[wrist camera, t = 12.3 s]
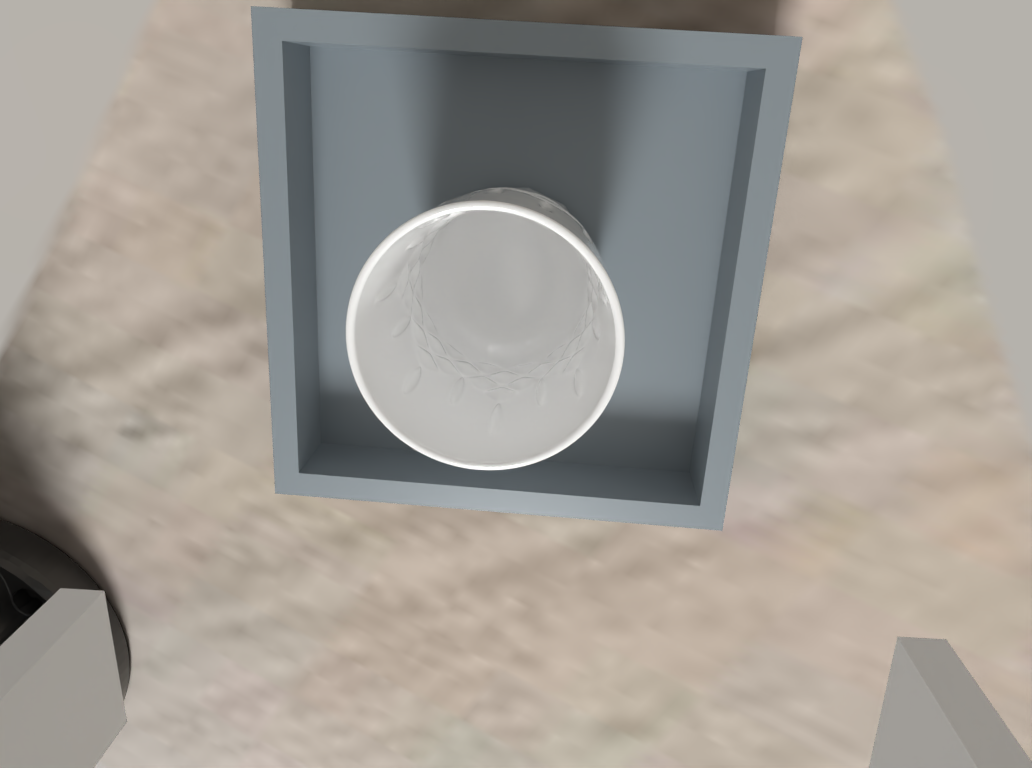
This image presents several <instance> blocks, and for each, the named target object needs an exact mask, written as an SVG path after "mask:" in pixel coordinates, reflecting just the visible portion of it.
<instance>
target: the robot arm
mask: <svg viewBox="0 0 1032 768" xmlns="http://www.w3.org/2000/svg"><path fill="white" fill-rule="evenodd" d="M128 683H129V654H128V648H127V644H126V640H125V636H124V633H123V630H122V627H121V625H120V623H119V620H118V618H117V616H116V614H115V612H114V610H113V608H112V607H111V605H110V603H109V602H108V600H107V599H106V597H105V592H104V591H101V590H100V589H99V588H98V586H97V585H96V584H95V583H94V581H93V580H92V579H91V578H90V577H89V576H88V575H87V574H86V573H85V572H84V571H83V570H82V569H81V568H80V567H79V566H78V565H77V564H76V563H75V562H74V561H73V560H72V559H70V558H69V557H68V556H67V555H65V554H64V553H63V552H62V551H60V550H59V549H58V548H56V547H55V546H53V545H52V544H50V543H49V542H47V541H45V540H44V539H42V538H40V537H39V536H37V535H35V534H33V533H31V532H29V531H27V530H25V529H23V528H21V527H19V526H16V525H14V524H11V523H9V522H6V521H3V520H0V768H94V767H95V766H96V764H97V763H98V761H99V760H100V759H101V757H102V756H103V754H104V753H105V752H106V750H107V749H108V747H109V746H110V744H111V743H112V742H113V740H114V739H115V737H116V736H117V735H118V733H119V732H120V730H121V729H122V728H123V726H124V725H125V723H126V722H127V719H126V713H125V707H124V702H123V701H124V699H125V695H126V692H127V688H128ZM869 768H1032V761H1031V760H1030V758H1029V757H1028V756H1027V754H1026V753H1025V751H1024V750H1023V748H1022V747H1021V746H1020V744H1019V743H1018V741H1017V740H1016V738H1015V737H1014V736H1013V734H1012V733H1011V731H1010V730H1009V728H1008V727H1007V726H1006V724H1005V723H1004V721H1003V720H1002V718H1001V717H1000V716H999V714H998V713H997V711H996V710H995V708H994V707H993V706H992V704H991V703H990V701H989V700H988V698H987V697H986V696H985V694H984V693H983V691H982V690H981V688H980V687H979V686H978V684H977V683H976V681H975V680H974V678H973V677H972V676H971V674H970V673H969V671H968V670H967V668H966V667H965V666H964V664H963V663H962V661H961V660H960V658H959V657H958V655H957V654H956V653H955V651H954V650H953V648H952V647H951V645H950V644H949V643H948V641H947V640H946V639H928V638H911V637H897V641H896V646H895V651H894V655H893V660H892V664H891V669H890V673H889V678H888V683H887V687H886V692H885V696H884V701H883V705H882V710H881V715H880V719H879V724H878V728H877V733H876V737H875V742H874V747H873V751H872V756H871V760H870V765H869Z"/></svg>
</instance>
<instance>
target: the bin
mask: <svg viewBox="0 0 1032 768" xmlns="http://www.w3.org/2000/svg"><path fill="white" fill-rule="evenodd" d="M251 18H252V38H253V58H254V78H255V98H256V118H257V137H258V157H259V177H260V197H261V217H262V237H263V257H264V277H265V297H266V317H267V337H268V357H269V377H270V397H271V417H272V437H273V457H274V477H275V493H277V494H289V495H301V496H313V497H325V498H337V499H349V500H361V501H373V502H385V503H397V504H409V505H421V506H433V507H445V508H457V509H469V510H481V511H493V512H505V513H517V514H529V515H541V516H553V517H565V518H577V519H589V520H601V521H613V522H625V523H637V524H649V525H661V526H673V527H685V528H697V529H709V530H721V531H722V529H723V523H724V517H725V511H726V504H727V498H728V492H729V486H730V480H731V474H732V468H733V461H734V455H735V449H736V443H737V437H738V431H739V424H740V418H741V412H742V406H743V400H744V394H745V388H746V381H747V375H748V369H749V363H750V357H751V351H752V345H753V338H754V332H755V326H756V320H757V314H758V308H759V302H760V295H761V289H762V283H763V277H764V271H765V265H766V259H767V252H768V246H769V240H770V234H771V228H772V222H773V216H774V209H775V203H776V197H777V191H778V185H779V179H780V173H781V166H782V160H783V154H784V148H785V142H786V136H787V129H788V123H789V117H790V111H791V105H792V99H793V93H794V86H795V80H796V74H797V68H798V62H799V56H800V50H801V43H802V37H795V36H777V35H759V34H741V33H723V32H705V31H687V30H669V29H651V28H633V27H615V26H597V25H579V24H561V23H543V22H525V21H507V20H489V19H471V18H453V17H436V16H418V15H400V14H382V13H364V12H346V11H328V10H310V9H292V8H274V7H256V6H251ZM490 187H529V188H531V189H533V190H535V191H537V192H539V193H541V194H543V195H545V196H547V197H549V198H551V199H553V200H555V201H557V202H559V203H561V204H563V205H565V206H566V208H567V209H568V210H569V212H570V213H571V214H572V215H573V216H574V217H575V218H576V219H577V220H578V221H579V222H580V224H581V225H582V226H583V227H584V229H585V230H586V231H587V233H588V235H589V236H590V238H591V239H592V241H593V243H594V244H595V246H596V248H597V250H598V252H599V254H600V256H601V258H602V260H603V263H604V265H605V267H606V270H607V272H608V275H609V277H610V279H611V282H612V284H613V286H614V288H615V291H616V294H617V296H618V299H619V303H620V306H621V310H622V315H623V321H624V331H625V349H624V358H623V364H622V369H621V373H620V376H619V380H618V383H617V385H616V388H615V390H614V393H613V395H612V397H611V399H610V401H609V403H608V404H607V406H606V408H605V409H604V411H603V412H602V414H601V415H600V416H599V418H598V419H597V420H596V421H595V423H594V424H593V425H592V426H591V427H590V428H589V429H588V430H587V431H586V432H585V433H584V434H583V435H582V436H581V437H580V438H579V439H577V440H576V441H575V442H574V443H572V444H571V445H570V446H568V447H567V448H565V449H563V450H562V451H560V452H558V453H557V454H555V455H553V456H551V457H549V458H546V459H544V460H542V461H539V462H536V463H533V464H530V465H526V466H522V467H518V468H512V469H505V470H475V469H467V468H462V467H457V466H453V465H449V464H446V463H443V462H440V461H437V460H435V459H432V458H430V457H428V456H426V455H424V454H422V453H420V452H418V451H416V450H415V449H413V448H412V447H410V446H408V445H407V444H406V443H404V442H403V441H401V440H400V439H399V438H398V437H396V436H395V435H394V434H393V433H392V432H391V431H390V430H389V429H388V428H387V427H386V426H385V425H384V424H383V423H382V422H381V421H380V420H379V419H378V418H377V416H376V415H375V414H374V413H373V411H372V410H371V408H370V407H369V405H368V404H367V402H366V401H365V399H364V397H363V396H362V394H361V392H360V390H359V388H358V386H357V383H356V381H355V378H354V376H353V373H352V370H351V366H350V362H349V358H348V352H347V345H346V317H347V310H348V305H349V300H350V296H351V293H352V290H353V287H354V284H355V282H356V279H357V277H358V275H359V273H360V271H361V269H362V267H363V266H364V264H365V262H366V261H367V259H368V258H369V256H370V255H371V254H372V252H373V251H374V250H375V249H376V248H377V246H378V245H379V244H380V243H381V242H382V241H383V240H384V239H385V238H386V237H387V236H388V235H389V234H390V233H392V232H393V231H394V230H395V229H397V228H398V227H399V226H401V225H402V224H404V223H405V222H407V221H408V220H410V219H412V218H414V217H415V216H417V215H419V214H421V213H424V212H426V211H428V210H430V209H432V208H435V207H437V206H438V205H440V204H442V203H444V202H446V201H448V200H451V199H453V198H456V197H459V196H462V195H465V194H468V193H471V192H474V191H478V190H483V189H487V188H490Z"/></svg>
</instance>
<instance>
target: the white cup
mask: <svg viewBox="0 0 1032 768" xmlns="http://www.w3.org/2000/svg"><path fill="white" fill-rule="evenodd" d="M346 345H347V352H348V358H349V362H350V366H351V370H352V373H353V376H354V378H355V381H356V383H357V386H358V388H359V390H360V392H361V394H362V396H363V397H364V399H365V401H366V402H367V404H368V405H369V407H370V408H371V410H372V411H373V413H374V414H375V415H376V416H377V418H378V419H379V420H380V421H381V422H382V423H383V424H384V425H385V426H386V427H387V428H388V429H389V430H390V431H391V432H392V433H393V434H394V435H395V436H396V437H398V438H399V439H400V440H401V441H403V442H404V443H406V444H407V445H408V446H410V447H412V448H413V449H415V450H416V451H418V452H420V453H422V454H424V455H426V456H428V457H430V458H432V459H435V460H437V461H440V462H443V463H446V464H449V465H453V466H457V467H462V468H467V469H475V470H505V469H512V468H518V467H522V466H526V465H530V464H533V463H536V462H539V461H542V460H544V459H546V458H549V457H551V456H553V455H555V454H557V453H558V452H560V451H562V450H563V449H565V448H567V447H568V446H570V445H571V444H572V443H574V442H575V441H576V440H577V439H579V438H580V437H581V436H582V435H583V434H584V433H585V432H586V431H587V430H588V429H589V428H590V427H591V426H592V425H593V424H594V423H595V421H596V420H597V419H598V418H599V416H600V415H601V414H602V412H603V411H604V409H605V408H606V406H607V404H608V403H609V401H610V399H611V397H612V395H613V393H614V390H615V388H616V385H617V383H618V380H619V376H620V373H621V369H622V364H623V358H624V349H625V331H624V321H623V315H622V310H621V306H620V303H619V299H618V296H617V294H616V291H615V288H614V286H613V284H612V282H611V279H610V277H609V275H608V272H607V270H606V267H605V265H604V263H603V260H602V258H601V256H600V254H599V252H598V250H597V248H596V246H595V244H594V243H593V241H592V239H591V238H590V236H589V235H588V233H587V231H586V230H585V229H584V227H583V226H582V225H581V224H580V222H579V221H578V220H577V219H576V218H575V217H574V216H573V215H572V214H571V213H570V212H569V210H568V209H567V208H566V206H565V205H563V204H561V203H559V202H557V201H555V200H553V199H551V198H549V197H547V196H545V195H543V194H541V193H539V192H537V191H535V190H533V189H531V188H529V187H490V188H487V189H483V190H478V191H474V192H471V193H468V194H465V195H462V196H459V197H456V198H453V199H451V200H448V201H446V202H444V203H442V204H440V205H438V206H437V207H435V208H432V209H430V210H428V211H426V212H424V213H421V214H419V215H417V216H415V217H414V218H412V219H410V220H408V221H407V222H405V223H404V224H402V225H401V226H399V227H398V228H397V229H395V230H394V231H393V232H392V233H390V234H389V235H388V236H387V237H386V238H385V239H384V240H383V241H382V242H381V243H380V244H379V245H378V246H377V248H376V249H375V250H374V251H373V252H372V254H371V255H370V256H369V258H368V259H367V261H366V262H365V264H364V266H363V267H362V269H361V271H360V273H359V275H358V277H357V279H356V282H355V284H354V287H353V290H352V293H351V296H350V300H349V305H348V310H347V317H346Z"/></svg>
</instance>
